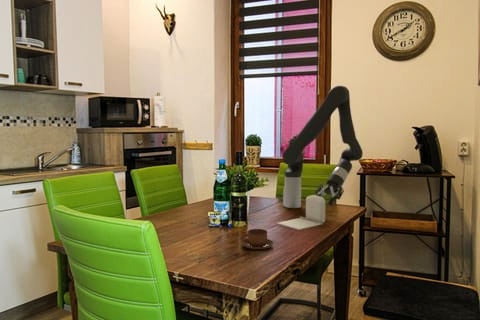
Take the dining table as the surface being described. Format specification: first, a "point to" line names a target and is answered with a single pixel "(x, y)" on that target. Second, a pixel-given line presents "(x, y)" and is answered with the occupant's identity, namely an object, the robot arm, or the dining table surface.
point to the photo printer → (315, 208)
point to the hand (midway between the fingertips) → (322, 203)
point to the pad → (300, 223)
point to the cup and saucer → (256, 239)
